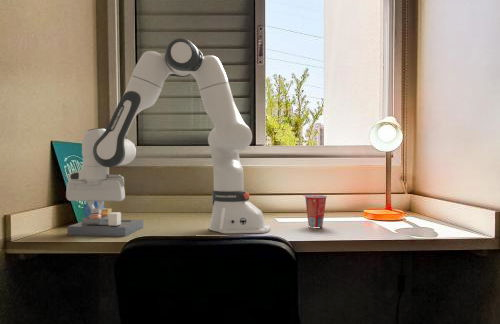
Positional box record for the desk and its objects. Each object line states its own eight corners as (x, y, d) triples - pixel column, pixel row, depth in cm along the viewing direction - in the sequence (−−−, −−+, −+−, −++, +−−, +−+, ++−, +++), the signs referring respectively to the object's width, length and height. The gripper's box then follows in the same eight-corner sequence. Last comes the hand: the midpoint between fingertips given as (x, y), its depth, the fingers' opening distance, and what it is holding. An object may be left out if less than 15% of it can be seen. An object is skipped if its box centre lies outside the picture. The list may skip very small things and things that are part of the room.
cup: (325, 225, 143) (325, 194, 143) (328, 229, 135) (328, 197, 135) (301, 224, 144) (301, 194, 144) (302, 228, 136) (302, 196, 136)
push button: (103, 221, 131) (103, 214, 131) (97, 223, 127) (97, 216, 127) (92, 221, 131) (92, 214, 131) (86, 222, 127) (86, 215, 127)
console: (143, 227, 137) (143, 214, 137) (125, 236, 121) (125, 221, 121) (92, 226, 139) (92, 213, 139) (67, 235, 123) (67, 220, 123)
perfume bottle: (82, 224, 143) (82, 194, 143) (89, 222, 149) (89, 192, 149) (98, 224, 143) (98, 194, 143) (104, 222, 149) (104, 192, 149)
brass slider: (111, 219, 136) (111, 208, 136) (107, 220, 133) (107, 209, 133) (103, 219, 136) (103, 208, 136) (99, 220, 133) (99, 209, 133)
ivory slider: (120, 224, 126) (120, 212, 126) (117, 225, 123) (117, 213, 123) (112, 223, 126) (112, 212, 126) (108, 225, 123) (108, 213, 123)
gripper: (128, 174, 132) (128, 212, 132) (73, 174, 133) (73, 212, 133) (120, 174, 125) (120, 215, 125) (63, 174, 127) (63, 214, 127)
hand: (96, 213), depth 129 cm, fingers closed
